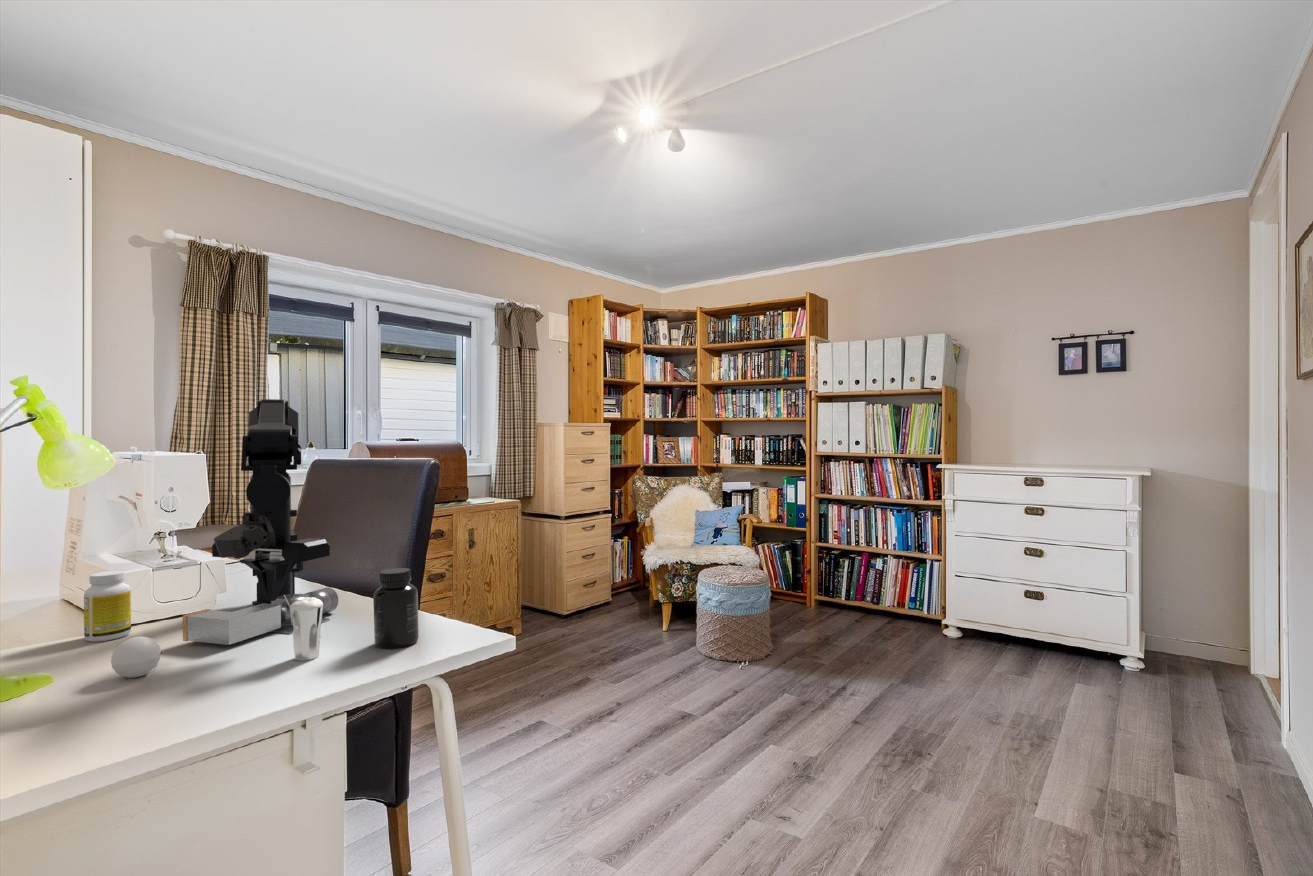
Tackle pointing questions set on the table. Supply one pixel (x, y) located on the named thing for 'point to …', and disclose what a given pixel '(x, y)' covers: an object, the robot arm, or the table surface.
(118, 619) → the pill bottle
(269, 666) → the table surface
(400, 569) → the supplement bottle
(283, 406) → the robot arm
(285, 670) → the table surface
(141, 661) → the white egg
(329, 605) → the duct stub
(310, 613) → the milkshake
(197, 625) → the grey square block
